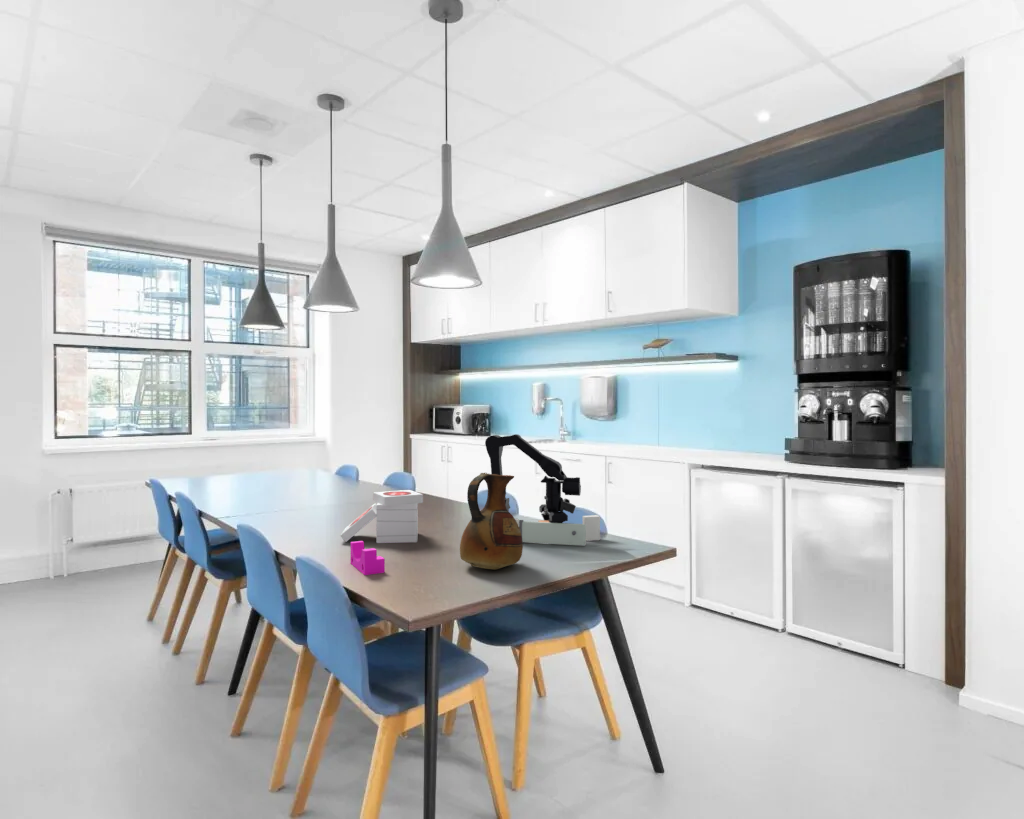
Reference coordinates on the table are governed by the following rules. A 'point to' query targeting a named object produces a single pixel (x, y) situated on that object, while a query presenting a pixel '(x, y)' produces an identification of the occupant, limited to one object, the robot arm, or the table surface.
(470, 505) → the ceramic pitcher
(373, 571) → the toy block
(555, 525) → the door
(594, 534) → the white small block
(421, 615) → the table surface
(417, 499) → the pizza boxes
